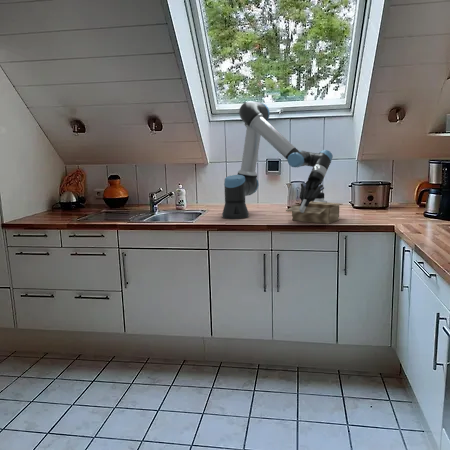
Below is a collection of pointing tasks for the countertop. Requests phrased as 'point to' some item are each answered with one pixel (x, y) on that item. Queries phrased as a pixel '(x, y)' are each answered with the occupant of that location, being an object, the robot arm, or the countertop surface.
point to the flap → (307, 210)
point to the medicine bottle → (320, 198)
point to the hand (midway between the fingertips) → (301, 210)
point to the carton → (325, 217)
